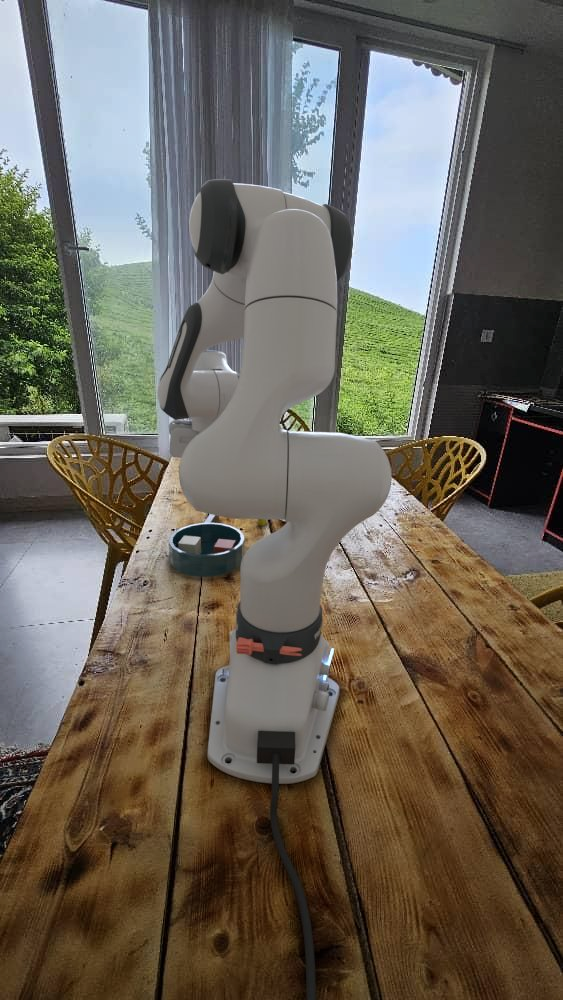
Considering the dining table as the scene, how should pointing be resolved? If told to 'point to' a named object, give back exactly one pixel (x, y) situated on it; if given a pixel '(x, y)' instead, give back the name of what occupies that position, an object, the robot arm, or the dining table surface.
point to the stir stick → (212, 519)
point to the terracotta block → (224, 545)
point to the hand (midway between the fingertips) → (211, 476)
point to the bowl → (207, 550)
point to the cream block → (190, 544)
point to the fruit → (261, 521)
